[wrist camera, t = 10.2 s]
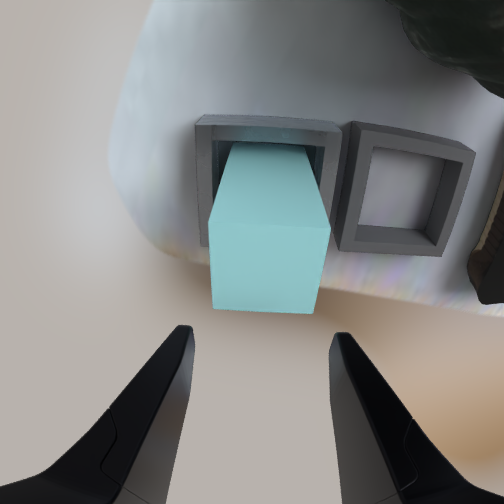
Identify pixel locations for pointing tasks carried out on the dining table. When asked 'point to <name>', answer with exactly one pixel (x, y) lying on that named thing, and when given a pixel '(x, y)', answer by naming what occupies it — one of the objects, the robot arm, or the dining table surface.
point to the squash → (459, 36)
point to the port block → (262, 130)
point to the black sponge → (490, 255)
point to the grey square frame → (444, 206)
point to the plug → (267, 231)
